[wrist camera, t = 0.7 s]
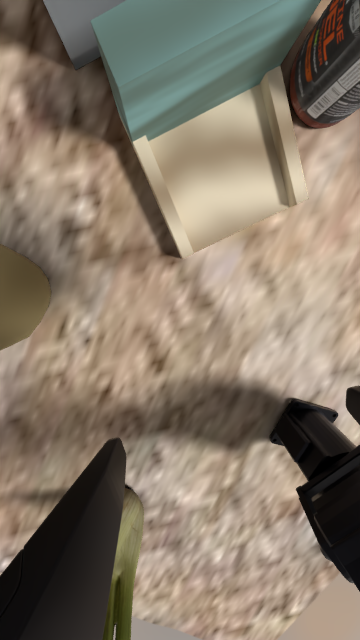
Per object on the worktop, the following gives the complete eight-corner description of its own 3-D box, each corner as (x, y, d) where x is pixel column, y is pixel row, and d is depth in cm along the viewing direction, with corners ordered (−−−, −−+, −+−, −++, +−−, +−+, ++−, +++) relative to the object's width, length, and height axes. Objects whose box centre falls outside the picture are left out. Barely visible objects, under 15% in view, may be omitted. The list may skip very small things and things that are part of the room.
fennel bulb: (92, 494, 27) (41, 671, 16) (118, 472, 26) (84, 642, 15) (126, 513, 28) (103, 686, 17) (151, 493, 28) (144, 660, 16)
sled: (294, 203, 18) (367, 177, 12) (181, 258, 19) (191, 261, 12) (257, 45, 15) (331, -116, 8) (120, 117, 15) (90, 20, 9)
